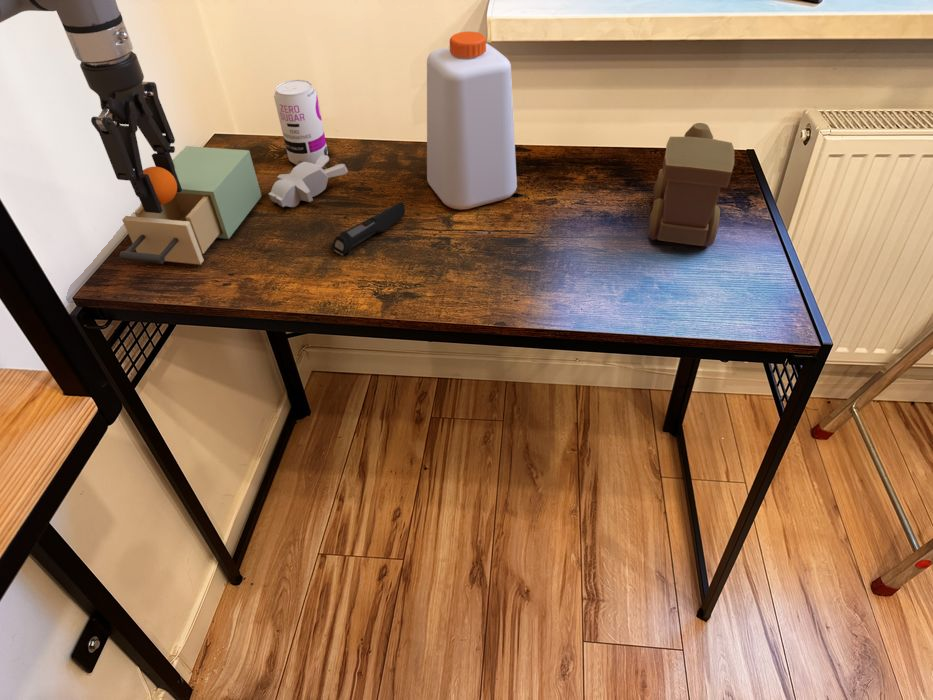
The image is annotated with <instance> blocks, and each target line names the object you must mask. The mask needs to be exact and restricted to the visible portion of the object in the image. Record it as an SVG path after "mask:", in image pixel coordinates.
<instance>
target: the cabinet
mask: <svg viewBox="0 0 933 700" xmlns="http://www.w3.org/2000/svg"><path fill="white" fill-rule="evenodd" d="M252 159H253V158H252V156H251V152H250V150H247V149H234V148H222V147H221V148H220V147H207V146H206V147H205V146H192V145H186V146H185V147H184V148H183V149H182V150H181V151H180V152H179V153H177V155H176V156H175V157H173V158H172V160H173V163H174V167H175V172H176V174H177V177H178V180H179V182H180V185H181V188H182V191H181V192H177V193H187V194H199V195H210V196H211V199H212V202H213V205H214V208H215V211H216V214H217V217H218V220H219V223H220V226H221V229H222V231H221V232H220V234H219V235H218V236H217V237H216V239H223V240H230V238H231V237H232V236H233V235H234V233H235V232H236V231H237V229H238V228H239V226H240V225H242V223H243V221H244V220H245V219H246V218H247V216H248V215H249V213H250V212H251V211H252V210H253V208H254V207H256V205H257V203H258V202H259V200H260V199H261V198H262V196H263V195H262V192H261V188H260V183H259V181H258V178H257V174H256V170H255V166H254V162H253V160H252Z"/></svg>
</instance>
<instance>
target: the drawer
mask: <svg viewBox="0 0 933 700" xmlns="http://www.w3.org/2000/svg"><path fill="white" fill-rule="evenodd" d="M161 208H162V210H163V211H162V212H161V213H150V212H145V211H144V208H143V206H142V205H141V206H139V208H137V210H135V212H134V214H135V216H132V215H125V216H124V217H123V218H122V220H121V221H122V223H123V226H124V227H125V229H126V231H127V233H128V236H129V238H130V241H131V242H132V243H131V245H130V246H129V247H128V248H127V249H126V250H122V251H120V252H119V259H120V260H122V261H127V262H128V261H129V262H137V263H138V262H140V263H149V264H159V265H163V264H165V262H170V263H171V262H172V263H182V264H192V265H202V264H203V262H204V261H205V260H204V257H203V255H204V254H205V253H206V251H207V250H208V249H209V248H210V247H211V245H212V244H213V243H214V242H215V240H216V239H217V238H216V237H217V236H218V235H219V234H220V232H221V231H222V229H221V226H220V223H219V220H218V217H217V214H216V211H215V208H214V205H213V202H212V199H211V196H210V195H199V194H187V193H176V195H175V197H174V198H173V199H172V200H171V201H170V202H168V203H166V204H163V205H161Z"/></svg>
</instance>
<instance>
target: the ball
mask: <svg viewBox="0 0 933 700" xmlns="http://www.w3.org/2000/svg"><path fill="white" fill-rule="evenodd" d="M143 173H144V174H148V175H149V178H150V180H151V183H152V185H153V188H154V190H155V193H156V195H157V198H158V200H159V203H160V205H163V204H166V203H168V202H170V201H171V200H172V199H173V198H174V197H175V195H176V193H177V183H176V180H175V178H174V176H173V175H172V174H171V173H170V172H169V171H167V170H166V169H164V168H161V167H156V166H149V167H146V168H144V169H143Z"/></svg>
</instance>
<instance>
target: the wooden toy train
mask: <svg viewBox="0 0 933 700" xmlns="http://www.w3.org/2000/svg"><path fill="white" fill-rule="evenodd" d="M734 167H735V147H734V145H733V143H732V142H730V141H725V140H720V139H714V135H713V133H712V132H711V128H710V126H709V125H708V124H706V123H704V122H696V123H694V124H692V126H691V127H690V128H689V129H688V130H687V131H686V132H685V133H684V135H683V136H669V138H668V140H667V142H666V146H665V152H664V156H663V162H662V168H660V169H659V170H658V174H657V178H656V181H655V183H654V185H653V202H652V205H653V206H652V209H651V211H650V214H649V216H648V233H647V235H648V238H649V239H650V240H651V241H652V240H653V241H654V240H657V241H663V242H669V243H676V244H684V245H692V246H699V247H706V248H708V247H712V245H713V244H714V243H715V241H716V236H717V234H718V230H719V227H720V225H719V223H720V217H721V208H720V207H719V205H717V204H718V200H719V197H720V192H721V188H726V189H728V187H729V184H730V182H731V181H730V180H731V178H732V177H731V176H732V173H733V170H734Z"/></svg>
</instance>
